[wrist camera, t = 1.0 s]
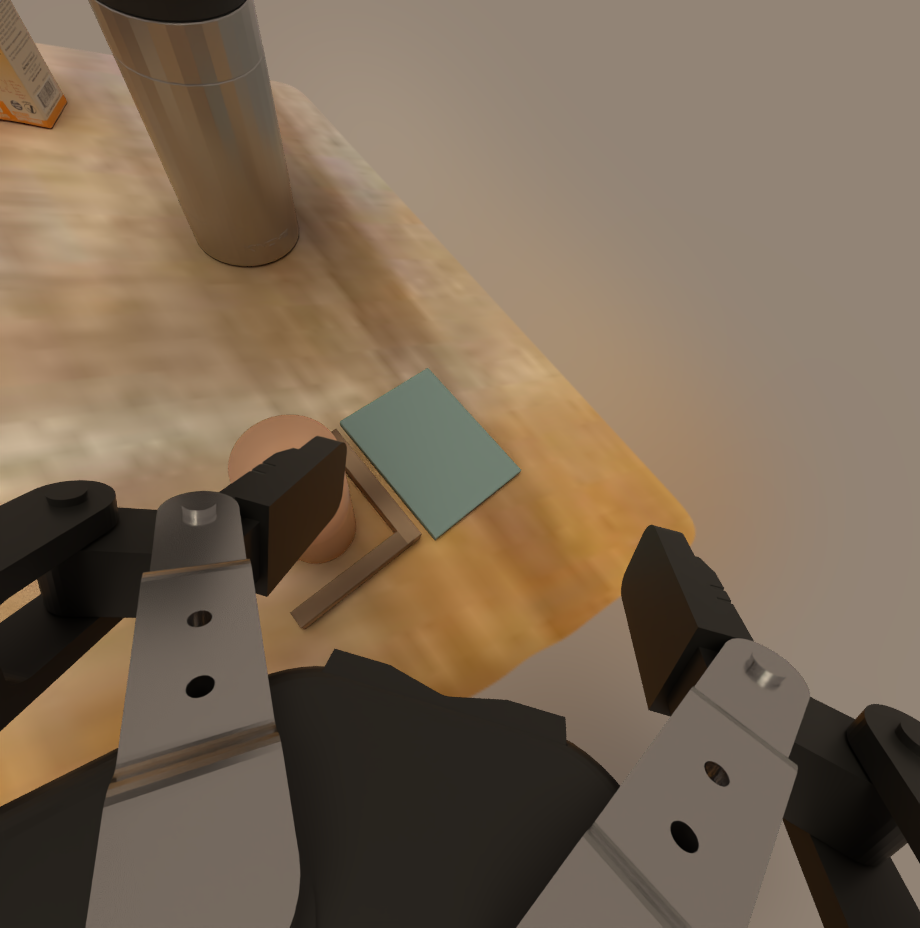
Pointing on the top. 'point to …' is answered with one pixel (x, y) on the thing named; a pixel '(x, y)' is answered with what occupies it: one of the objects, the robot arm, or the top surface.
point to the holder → (373, 560)
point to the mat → (430, 451)
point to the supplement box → (25, 75)
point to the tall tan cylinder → (295, 434)
